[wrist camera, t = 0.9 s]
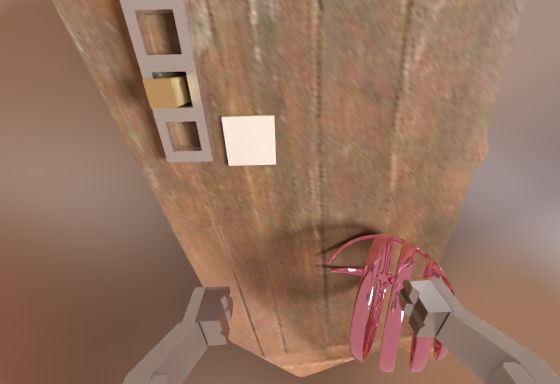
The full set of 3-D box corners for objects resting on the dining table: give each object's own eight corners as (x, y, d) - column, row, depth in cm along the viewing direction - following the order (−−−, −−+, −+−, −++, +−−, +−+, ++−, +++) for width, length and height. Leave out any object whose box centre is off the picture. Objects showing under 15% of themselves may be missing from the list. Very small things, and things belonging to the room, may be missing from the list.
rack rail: (128, -4, 34) (116, -10, 31) (187, -6, 34) (180, -12, 31) (173, 156, 47) (167, 162, 45) (216, 155, 47) (212, 161, 45)
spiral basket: (296, 358, 51) (441, 451, 36) (298, 250, 44) (483, 312, 29) (339, 288, 73) (440, 328, 59) (346, 208, 66) (464, 231, 51)
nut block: (165, 76, 40) (142, 79, 33) (188, 76, 40) (169, 78, 33) (171, 100, 42) (150, 108, 35) (193, 100, 42) (176, 107, 35)
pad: (222, 116, 43) (221, 116, 42) (274, 114, 43) (274, 115, 42) (229, 164, 48) (228, 165, 47) (275, 162, 48) (275, 164, 47)
